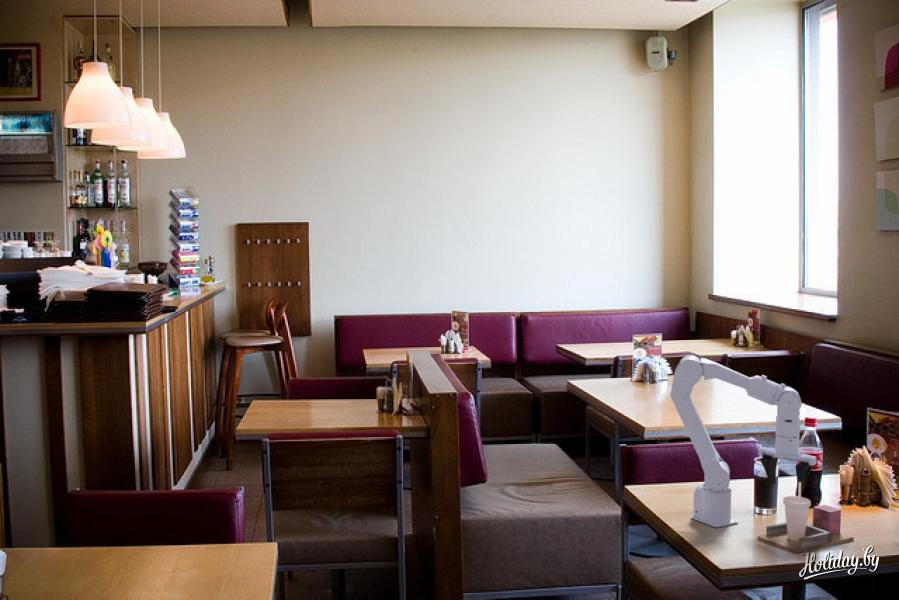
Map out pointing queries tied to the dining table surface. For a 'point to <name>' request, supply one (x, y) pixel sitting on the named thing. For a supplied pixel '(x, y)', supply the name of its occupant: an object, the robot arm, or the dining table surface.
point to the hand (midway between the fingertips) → (786, 487)
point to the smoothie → (796, 515)
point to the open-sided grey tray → (810, 532)
